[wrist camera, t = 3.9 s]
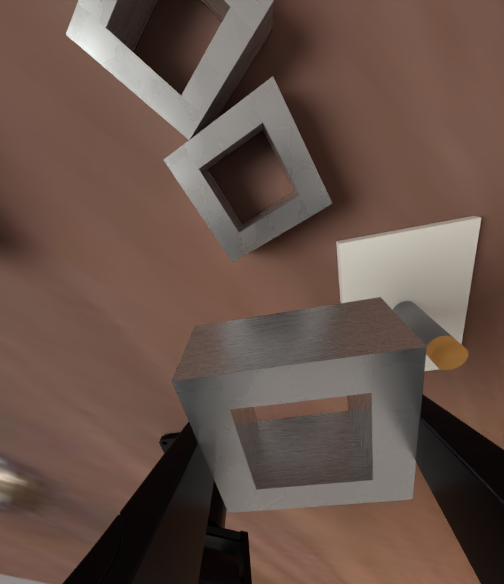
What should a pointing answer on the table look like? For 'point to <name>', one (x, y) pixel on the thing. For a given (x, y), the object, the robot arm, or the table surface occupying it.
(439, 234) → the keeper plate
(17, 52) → the table surface
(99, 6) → the grey square frame
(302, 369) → the end link
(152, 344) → the table surface
